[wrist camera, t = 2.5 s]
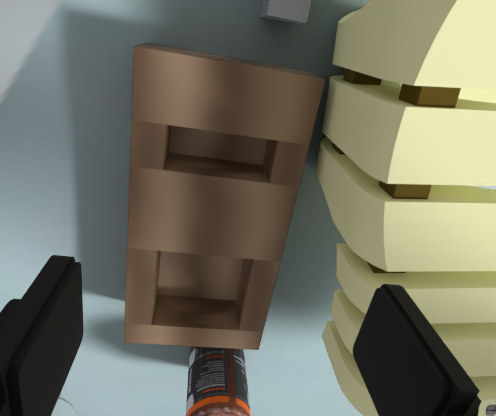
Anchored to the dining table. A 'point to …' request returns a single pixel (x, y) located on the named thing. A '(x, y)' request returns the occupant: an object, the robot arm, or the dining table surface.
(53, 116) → the dining table surface
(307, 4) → the grey stone block
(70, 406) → the beer glass
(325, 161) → the slatted curved stool
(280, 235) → the socket block
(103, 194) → the dining table surface
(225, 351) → the supplement bottle
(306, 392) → the dining table surface
